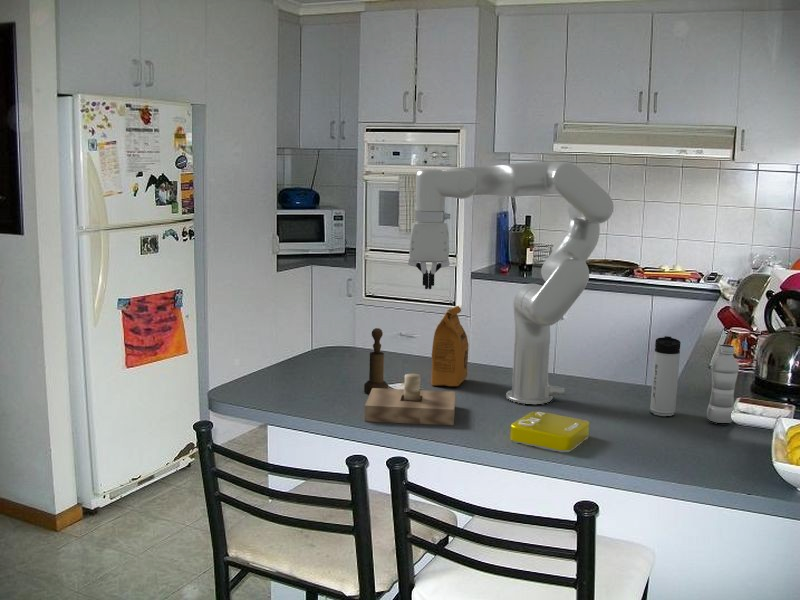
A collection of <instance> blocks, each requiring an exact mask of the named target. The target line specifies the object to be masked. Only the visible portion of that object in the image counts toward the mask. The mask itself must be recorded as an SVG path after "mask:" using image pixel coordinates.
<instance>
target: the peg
mask: <svg viewBox="0 0 800 600" xmlns="http://www.w3.org/2000/svg"><path fill="white" fill-rule="evenodd" d="M403 386H404V388H403V389H404V401H413V402H420V390H421V375H420V374H417V373H406V374H404V385H403Z"/></svg>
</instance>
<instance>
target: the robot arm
mask: <svg viewBox="0 0 800 600" xmlns="http://www.w3.org/2000/svg"><path fill="white" fill-rule="evenodd" d="M482 195H483V196H486V195H488V196H498V197H507V198H509V197H511V198H512V197H514V198H515V197H516V198H517V197H525V196H526V197H527V196H545V195H560V196H562V198H563V199H565V201H566V207H567V213H568V216H569V223H568V224H569V226H568V229H567V232H566V233H565V235H564V236H563V238H562V239H561V240H560V242H559V243H558V244H557V245H556V247H555V248H554V249H553V251H552V252H551V253H550V255H549V256H547V258H546V259H545V261H544V263H543V264H542V266H541V269H540V273H541V277H542V279H543V281H544V282H545V283H544V284H542V285H541V284H538V283H527V284H524V285H523V286H521V287H520V288H518V290H517V291H516V293H515V295H514V298H513V306H512V307H513V316H514V317H513V318H514V339H513V340H514V341H513V342H514V343H513V361H512V379H511V380H512V383H511V390H508V391H506V394H505V398H506V399H507V400H508V399H509V400H508V401H510V400H511V401H510V402H512V401H513V402H512V403H515V402H518V403H517V404H519V403H526V404H542V403H547V402H550V401H551V400H552V399H553V395H559V396H565V393H566V392H565V391H566V390H565V389H566V388H565V387H560V386H557V385H550V384H549V366H550V365H549V363H550V348H551V346H550V345H551V326H553V325H555V324H558V322H559V321H561V319H562V318H563V317H564V316H566V315H565V314H566V313H567V312H568V311H569V310H570V308H571V307H572V306H573V305H574V304H575V302H576V301H577V299H578V298H579V297H580V296H581V294H582V293H583V292H584V290H585V288H586V287H587V285H588V282H589V279H590V268H589V266H588V264H587V263H586V262H587V261H588V259H589V257H590V256H591V254H592V253H593V251H594V250H595V249H596V246H597V245H598V243H599V238H600V233H601V232H600V230H601V229H600V228H601V227H600V224H603V223H605V222H607V221H608V220H609V219H611V216H612V215H613V212H614V209H615V208H614V207H615V205H614V201H613V199H612V197H611V196H610V194H609V193H608V192H607V191H606V190H605V189H604V188H603V187H601V186H600V185H599V184H598V183H597V182H596V181H595V180H594V179H592V178H591V177H590V176H589V175H588V174H587V173H586V172H585V171H584V170H583V169H582V168H580V167H579V166H578V165H576V164H575V163H573V162H569V161H555V160H554V161H539V162H538V161H537V162H522V163H521V162H520V163H518V162H517V163H506V164H505V163H504V164H503V163H502V164H496V165H487V166H486V165H484V166H467V167H465V166H464V167H452V168H448V169H446V170H442V169H437V168H435V169H434V168H433V169H432V168H423V169H418V170H417V172H416V175H415V209H414V210H415V212H414V213H415V217H414V221H415V222H412V224H411V229H410V237H409V247H408V248H409V250H408V251H409V254H408V255H409V258H408V262H407V264H408V265H409V266H412V267H415V268H417V269H418V270H419V272H421V273H422V286H424V290H432V287H435V274H436V273H437V272H438V271H439V270H440V269H441V268H447V267H450V264H451V263H450V260H449V255H450V236H449V235H450V234H449V225H448V222H445V221H446V220H450V219H451V213H446V211H445V210H446V209H445V208H446V198H453V199H459V200H463V199H468V198H471V197H472V196H482ZM427 263H431V269H430V270H429V271H428V268H427ZM552 401H553V400H552ZM552 401H551V402H552ZM551 402H550V403H551ZM547 404H548V403H547ZM542 405H543V404H542Z"/></svg>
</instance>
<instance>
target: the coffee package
mask: <svg viewBox="0 0 800 600" xmlns="http://www.w3.org/2000/svg"><path fill="white" fill-rule="evenodd" d="M461 312H462V309H461V307H460V306H459V305H456V306H454V307H451V308H449V309H447V310H446V312H445V314H444V316H443V317H442V319H441V320H440V321H439V324H438V325H436V329H435V331H434V334H433V340H432V348H431V378H430V379H431V380H430V381H431V382H430V385H431V386H433V387H434V386H435V387H436V386H438V387H439V386H441V387H442V386H443V387H444V386H445V387H458V386H460V385H461V384H462V383H463V382H464V381H465V380H466V378H468V364H469V341H468V335H467V333H466V331H465V329H464V327H463V325H462V324H461V322H460V318H459V316H458V314H459V313H461Z"/></svg>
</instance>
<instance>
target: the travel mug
mask: <svg viewBox="0 0 800 600" xmlns="http://www.w3.org/2000/svg"><path fill="white" fill-rule="evenodd" d="M654 347H655V348H654V354H653V367H652V368H653V369H652V379H651V380H652V382H651V392H650V393H651V395H650V405H649V406H650V407H649V411H650V410H651V411H653V412H655V413H659V414H672V413H675V414H676V404H677V396H678V395H677V393H678V384H679V383H678V380H679V369H680V368H679V367H680V357H681V356H680V354H681V341H680V340H679V339H677V338H674V337H673V338H672V336H667V335H665V336H664V337H663V336H662V337H658V338H656V339H655V345H654Z"/></svg>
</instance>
